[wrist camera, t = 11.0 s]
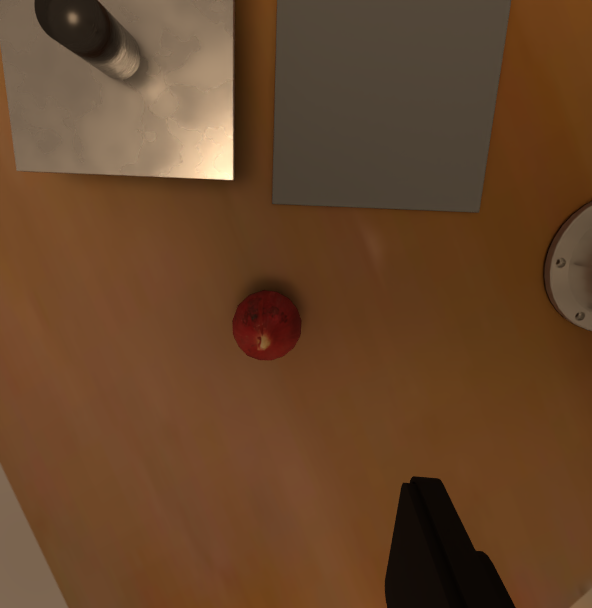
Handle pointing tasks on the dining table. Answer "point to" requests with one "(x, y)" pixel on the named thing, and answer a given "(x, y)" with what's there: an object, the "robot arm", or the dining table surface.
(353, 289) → the dining table surface
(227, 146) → the lid
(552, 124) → the dining table surface
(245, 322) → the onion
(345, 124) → the mat
